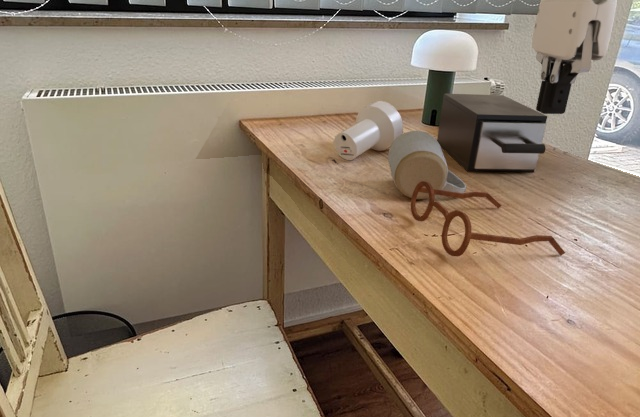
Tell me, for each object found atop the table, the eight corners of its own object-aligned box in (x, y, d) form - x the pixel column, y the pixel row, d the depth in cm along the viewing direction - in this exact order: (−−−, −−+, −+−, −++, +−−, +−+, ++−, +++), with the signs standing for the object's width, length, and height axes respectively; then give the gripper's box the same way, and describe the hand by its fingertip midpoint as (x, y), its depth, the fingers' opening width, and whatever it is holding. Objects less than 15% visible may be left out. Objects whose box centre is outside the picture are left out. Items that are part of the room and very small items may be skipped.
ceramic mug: (390, 201, 65) (397, 144, 62) (384, 178, 72) (391, 127, 69) (470, 206, 65) (482, 151, 61) (456, 184, 72) (466, 133, 69)
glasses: (406, 213, 61) (411, 176, 59) (499, 207, 64) (506, 171, 62) (457, 267, 50) (465, 223, 48) (566, 257, 53) (578, 215, 51)
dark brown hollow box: (534, 172, 78) (547, 116, 75) (467, 171, 77) (477, 114, 73) (493, 143, 92) (503, 95, 89) (436, 142, 91) (443, 93, 87)
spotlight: (408, 145, 84) (401, 99, 81) (369, 172, 77) (358, 123, 74) (371, 142, 90) (362, 99, 86) (331, 168, 83) (320, 122, 79)
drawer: (550, 180, 73) (562, 131, 70) (486, 179, 72) (496, 130, 69) (496, 142, 90) (504, 102, 87) (444, 141, 89) (450, 101, 86)
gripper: (660, -45, 51) (611, 127, 59) (578, -39, 65) (548, 100, 72) (591, -48, 50) (552, 127, 58) (524, -41, 64) (499, 100, 71)
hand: (549, 112), depth 65 cm, fingers closed
